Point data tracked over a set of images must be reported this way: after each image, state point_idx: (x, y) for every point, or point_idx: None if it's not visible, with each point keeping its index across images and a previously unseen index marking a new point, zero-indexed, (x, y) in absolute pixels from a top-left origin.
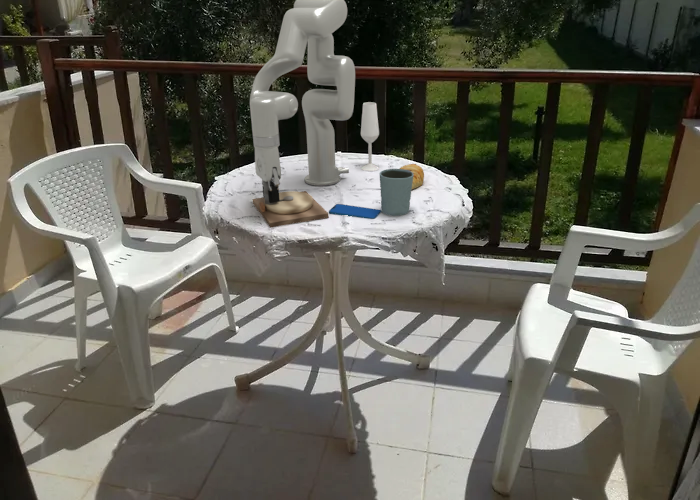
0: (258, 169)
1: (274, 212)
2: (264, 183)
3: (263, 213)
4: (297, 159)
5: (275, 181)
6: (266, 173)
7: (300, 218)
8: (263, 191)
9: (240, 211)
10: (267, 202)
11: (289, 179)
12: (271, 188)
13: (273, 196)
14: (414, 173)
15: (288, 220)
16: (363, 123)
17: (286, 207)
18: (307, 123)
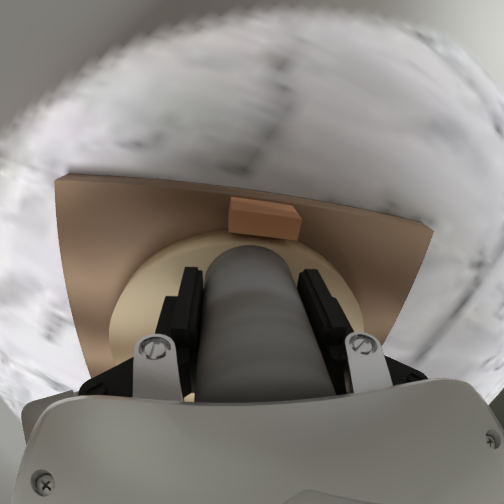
0: (387, 502)
1: (161, 250)
2: (247, 366)
3: (200, 193)
4: (493, 391)
5: (24, 430)
6: (13, 497)
7: (74, 317)
8: (319, 296)
9: (374, 121)
10: (224, 258)
11: (457, 375)
12: (136, 362)
13: (162, 318)
14: None
15: (65, 270)
16: None
17: (123, 318)
18: None
